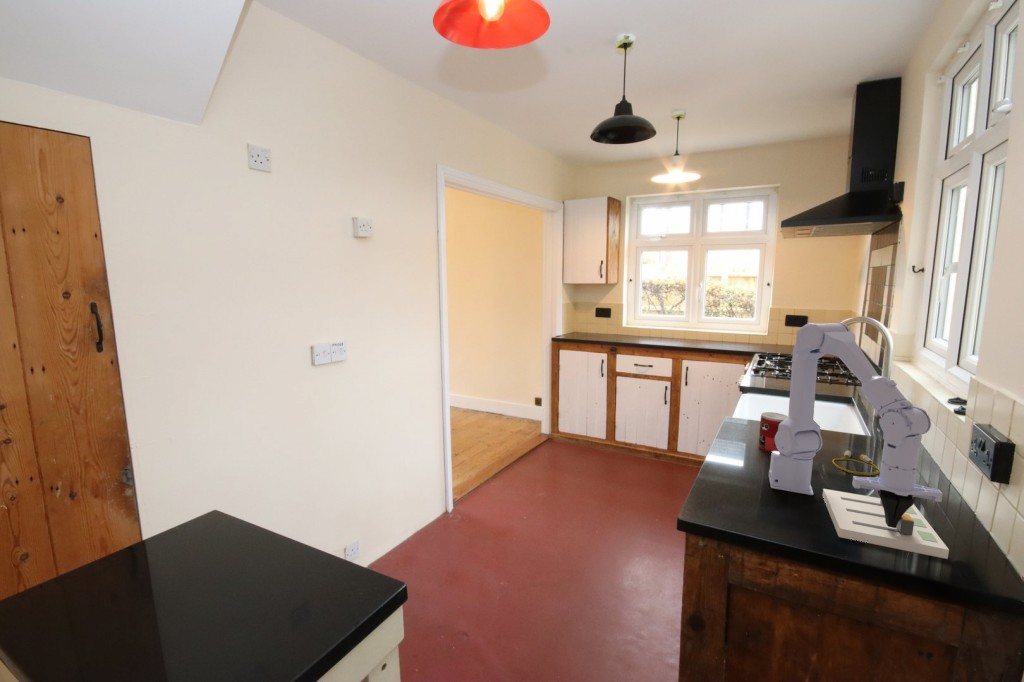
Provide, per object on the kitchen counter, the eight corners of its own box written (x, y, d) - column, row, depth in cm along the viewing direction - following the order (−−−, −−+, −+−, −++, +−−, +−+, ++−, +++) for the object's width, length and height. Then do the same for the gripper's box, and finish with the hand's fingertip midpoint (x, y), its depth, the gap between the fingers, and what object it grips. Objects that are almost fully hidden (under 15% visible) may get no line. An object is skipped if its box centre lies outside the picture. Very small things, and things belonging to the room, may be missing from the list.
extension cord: (894, 468, 135) (895, 462, 135) (867, 481, 128) (868, 474, 127) (847, 454, 146) (848, 448, 146) (820, 464, 138) (821, 458, 138)
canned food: (760, 442, 154) (763, 410, 152) (788, 448, 149) (791, 415, 148) (756, 450, 148) (759, 416, 146) (785, 455, 143) (788, 421, 142)
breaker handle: (900, 533, 97) (902, 519, 97) (895, 526, 100) (897, 512, 100) (912, 535, 97) (914, 521, 96) (907, 528, 99) (909, 514, 99)
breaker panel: (838, 537, 100) (841, 513, 99) (822, 496, 118) (824, 476, 117) (947, 559, 93) (951, 534, 92) (912, 511, 111) (915, 490, 110)
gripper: (861, 465, 97) (853, 526, 99) (952, 478, 91) (942, 543, 93) (853, 453, 103) (846, 510, 105) (938, 465, 97) (928, 525, 99)
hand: (890, 525), depth 99 cm, fingers closed
